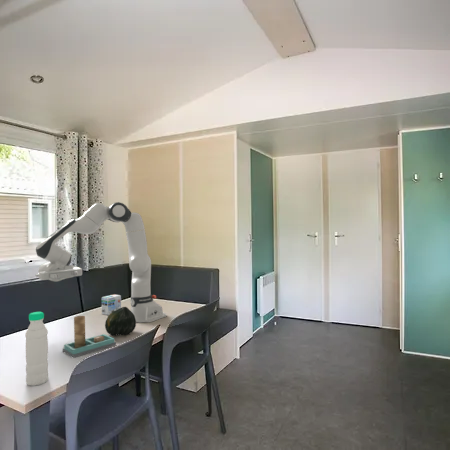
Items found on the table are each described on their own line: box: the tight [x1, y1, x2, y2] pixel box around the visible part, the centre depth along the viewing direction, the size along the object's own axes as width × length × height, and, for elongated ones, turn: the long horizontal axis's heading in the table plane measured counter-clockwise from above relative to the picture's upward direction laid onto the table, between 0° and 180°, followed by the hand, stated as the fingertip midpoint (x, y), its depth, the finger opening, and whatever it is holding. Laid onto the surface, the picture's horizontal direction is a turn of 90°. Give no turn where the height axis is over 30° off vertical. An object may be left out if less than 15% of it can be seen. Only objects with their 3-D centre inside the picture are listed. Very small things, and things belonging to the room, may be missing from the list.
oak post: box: [73, 315, 86, 349], centre depth 150 cm, size 4×4×14 cm
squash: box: [104, 306, 137, 336], centre depth 173 cm, size 14×15×15 cm
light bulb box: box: [101, 293, 122, 316], centre depth 215 cm, size 11×7×11 cm, turn 148°
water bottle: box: [24, 311, 49, 387], centre depth 121 cm, size 7×7×25 cm
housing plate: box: [62, 333, 117, 358], centre depth 154 cm, size 20×11×4 cm, turn 137°
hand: (67, 275), depth 165 cm, fingers open, 8 cm apart
